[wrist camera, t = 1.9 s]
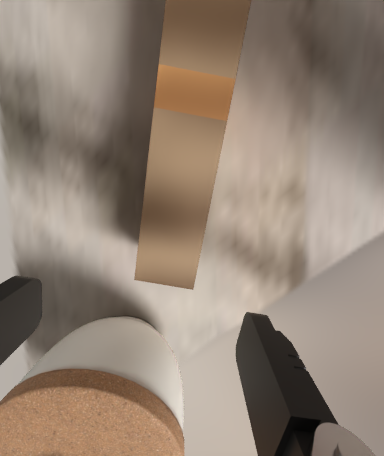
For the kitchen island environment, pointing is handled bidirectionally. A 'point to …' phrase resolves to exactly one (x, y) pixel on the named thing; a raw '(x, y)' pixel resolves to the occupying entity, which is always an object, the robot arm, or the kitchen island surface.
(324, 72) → the kitchen island surface
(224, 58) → the bar
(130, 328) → the lidded bowl
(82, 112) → the kitchen island surface
